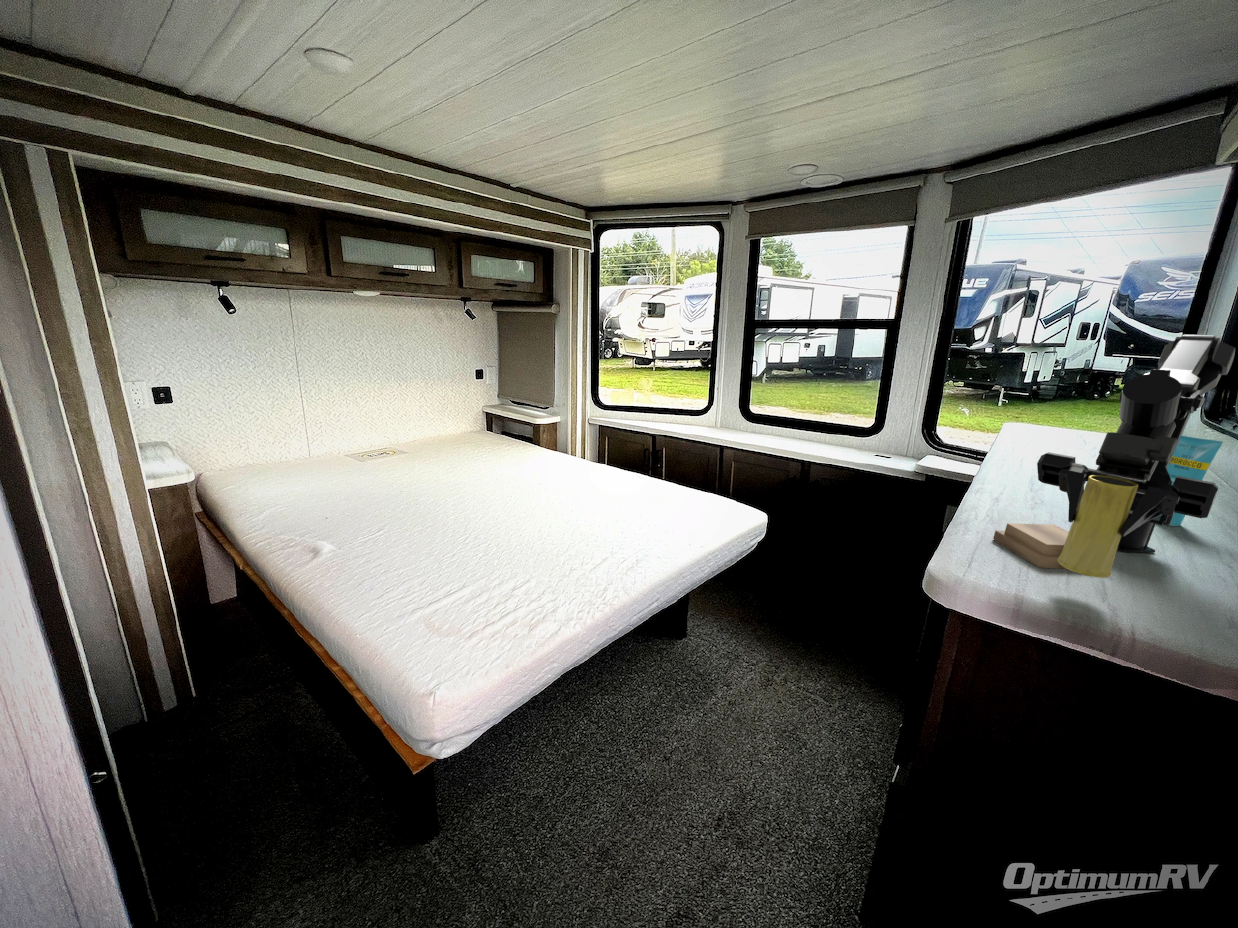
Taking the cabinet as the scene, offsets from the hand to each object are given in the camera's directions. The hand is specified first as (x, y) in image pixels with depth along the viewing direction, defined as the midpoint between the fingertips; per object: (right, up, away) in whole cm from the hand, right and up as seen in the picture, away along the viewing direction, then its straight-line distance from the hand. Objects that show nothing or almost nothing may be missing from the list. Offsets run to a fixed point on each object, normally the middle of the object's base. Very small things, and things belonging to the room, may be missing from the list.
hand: (1095, 527), depth 71 cm
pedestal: (+8, -7, +17) cm, 21 cm away
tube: (+49, -4, +34) cm, 60 cm away
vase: (+1, -7, +3) cm, 7 cm away
